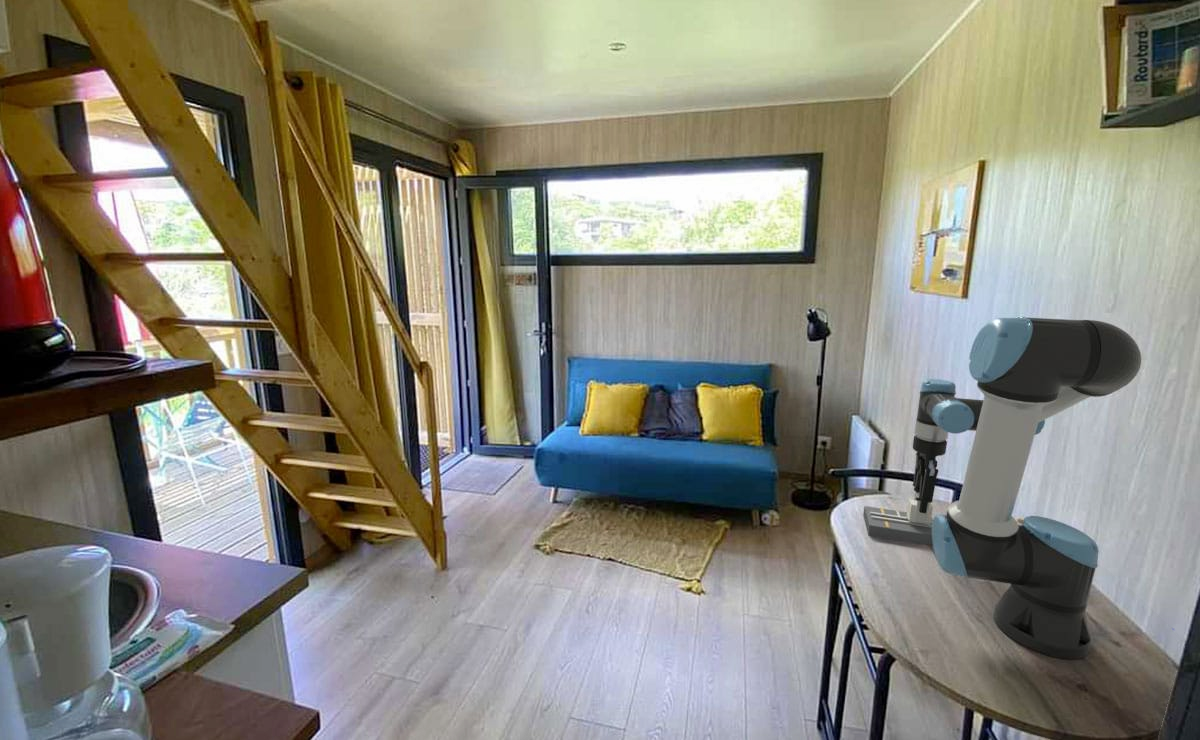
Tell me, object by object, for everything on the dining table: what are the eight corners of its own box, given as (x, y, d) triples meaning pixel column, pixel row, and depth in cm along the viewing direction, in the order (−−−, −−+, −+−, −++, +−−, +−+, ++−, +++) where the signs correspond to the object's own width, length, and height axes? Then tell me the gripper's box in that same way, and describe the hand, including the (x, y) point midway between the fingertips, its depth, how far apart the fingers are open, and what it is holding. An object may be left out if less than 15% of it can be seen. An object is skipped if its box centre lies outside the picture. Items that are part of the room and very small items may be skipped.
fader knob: (929, 527, 143) (932, 507, 142) (908, 523, 144) (911, 504, 143) (926, 520, 146) (929, 501, 145) (906, 517, 148) (909, 499, 146)
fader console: (939, 547, 139) (941, 535, 138) (868, 535, 145) (869, 523, 144) (929, 525, 150) (931, 514, 149) (863, 515, 156) (864, 504, 155)
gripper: (955, 450, 131) (941, 535, 136) (939, 429, 146) (927, 507, 151) (921, 446, 134) (908, 530, 139) (908, 426, 149) (897, 503, 154)
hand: (918, 518), depth 145 cm, fingers closed on fader knob, 4 cm apart
